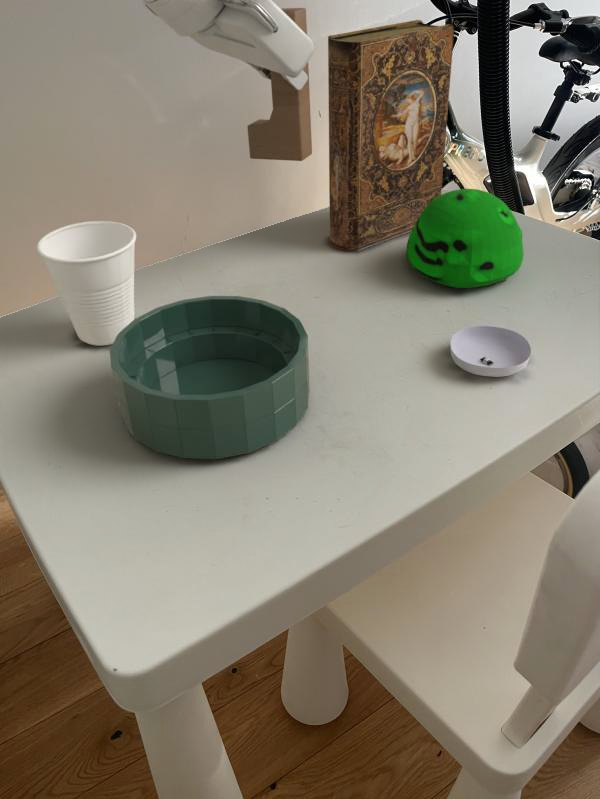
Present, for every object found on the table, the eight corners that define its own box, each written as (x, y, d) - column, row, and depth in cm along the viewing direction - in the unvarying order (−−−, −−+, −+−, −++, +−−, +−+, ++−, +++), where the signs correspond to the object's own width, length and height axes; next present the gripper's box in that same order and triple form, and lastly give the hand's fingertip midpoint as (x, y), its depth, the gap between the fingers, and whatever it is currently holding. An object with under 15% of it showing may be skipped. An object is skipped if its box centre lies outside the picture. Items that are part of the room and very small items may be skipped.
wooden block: (312, 154, 85) (306, 7, 77) (302, 161, 82) (295, 10, 74) (261, 152, 87) (249, 9, 79) (249, 159, 84) (236, 12, 77)
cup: (109, 302, 87) (90, 213, 80) (170, 325, 82) (156, 232, 75) (41, 339, 80) (15, 246, 74) (103, 367, 75) (81, 269, 69)
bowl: (97, 391, 72) (82, 329, 68) (252, 338, 79) (247, 279, 75) (170, 493, 60) (157, 426, 56) (345, 419, 67) (345, 355, 63)
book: (350, 254, 95) (352, 43, 81) (323, 241, 99) (320, 37, 84) (438, 221, 103) (455, 23, 88) (411, 210, 107) (422, 18, 92)
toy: (386, 262, 93) (390, 185, 87) (468, 238, 98) (476, 164, 92) (455, 306, 83) (464, 222, 78) (542, 277, 89) (556, 196, 83)
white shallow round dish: (489, 394, 70) (492, 378, 68) (431, 358, 75) (432, 342, 74) (546, 366, 73) (549, 350, 72) (486, 333, 78) (488, 317, 77)
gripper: (267, -37, 62) (360, 69, 72) (169, -51, 76) (257, 39, 86) (225, 27, 63) (322, 124, 73) (136, 2, 77) (227, 86, 87)
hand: (286, 78), depth 80 cm, fingers closed on wooden block, 4 cm apart
